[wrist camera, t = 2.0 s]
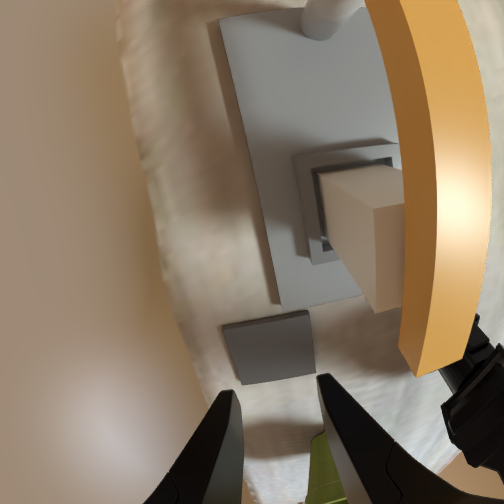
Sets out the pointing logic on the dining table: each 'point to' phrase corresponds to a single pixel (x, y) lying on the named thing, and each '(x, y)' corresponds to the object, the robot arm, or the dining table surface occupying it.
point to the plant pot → (323, 475)
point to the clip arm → (438, 173)
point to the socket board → (309, 128)
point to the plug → (367, 228)
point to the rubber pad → (271, 348)
